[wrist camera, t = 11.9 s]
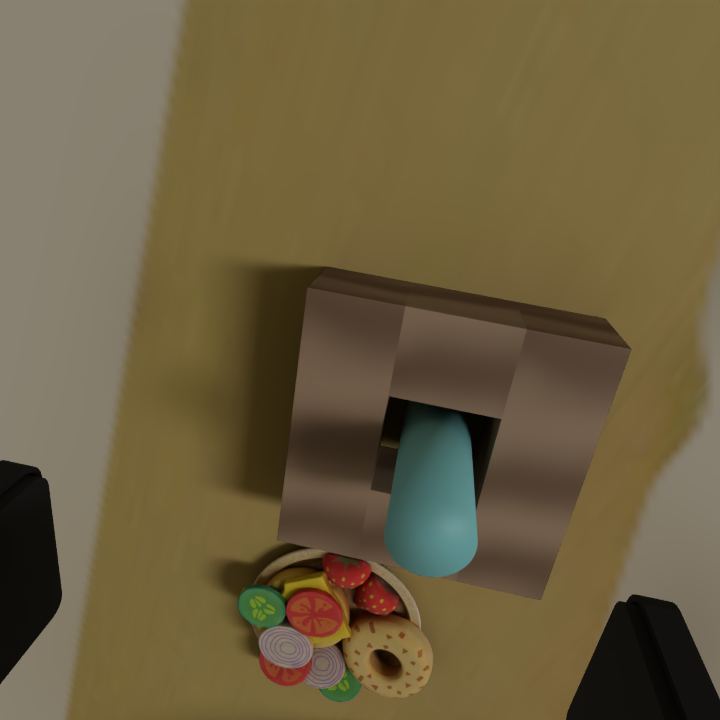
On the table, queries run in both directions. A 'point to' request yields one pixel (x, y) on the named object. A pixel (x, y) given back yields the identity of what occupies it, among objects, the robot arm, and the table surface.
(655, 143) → the table surface
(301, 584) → the toy food set
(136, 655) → the table surface
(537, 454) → the socket block
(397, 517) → the peg
